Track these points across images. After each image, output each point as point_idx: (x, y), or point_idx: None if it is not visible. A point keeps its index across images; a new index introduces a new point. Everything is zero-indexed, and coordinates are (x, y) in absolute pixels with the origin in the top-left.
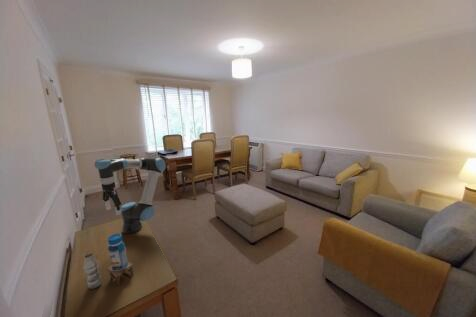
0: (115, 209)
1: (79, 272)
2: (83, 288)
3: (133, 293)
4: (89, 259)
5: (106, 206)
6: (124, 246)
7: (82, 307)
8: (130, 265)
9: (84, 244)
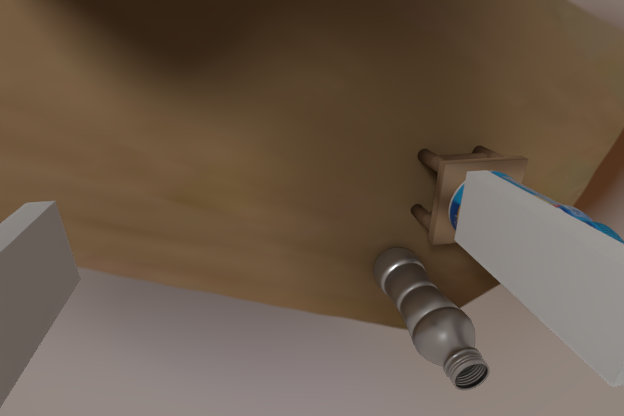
0: (547, 314)
1: (248, 281)
2: (362, 289)
3: (555, 192)
4: (480, 366)
5: (32, 343)
6: (586, 220)
7: None
8: (522, 171)
9: None
